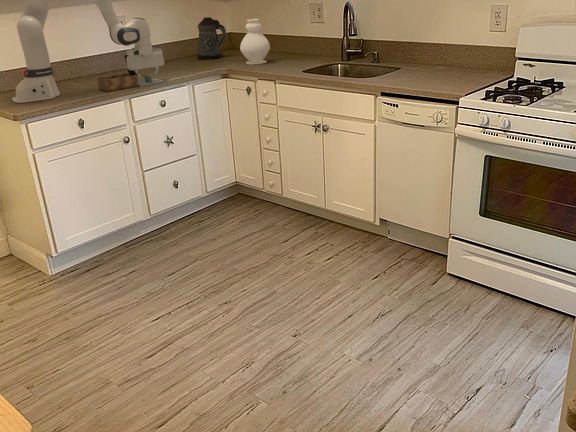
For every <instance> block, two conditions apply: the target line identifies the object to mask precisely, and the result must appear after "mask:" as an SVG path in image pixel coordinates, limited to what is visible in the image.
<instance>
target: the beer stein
mask: <svg viewBox="0 0 576 432" xmlns="http://www.w3.org/2000/svg"><path fill="white" fill-rule="evenodd" d="M197 29H198V45H197V52H196V56H197V60H200V61H213V60H214V61H215V60H218V59H221V58H222V57H223V51H222V49H221V45H222V43H223V42H224V41H225V39H226V36H227V35H226V34H227V29H226V28H225V26H224V25H223V24H220V21H219V20H218V19H213V18H212V17H210V16H209V17H208V16H207V17H203V19H202V20H201V21H200V22H199V23H198V24H197ZM217 30H220V31H221V37H220V38H219V36H218V34H217Z"/></svg>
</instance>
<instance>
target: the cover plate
mask: <svg viewBox="0 0 576 432" xmlns="http://www.w3.org/2000/svg"><path fill="white" fill-rule="evenodd" d="M143 77H144V80H141V81H138V86H139V87H144V86H149V85H154V84H158V83H165V81H164V80H163V79H159V78H152V76H151V75H144V76H143Z"/></svg>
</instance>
